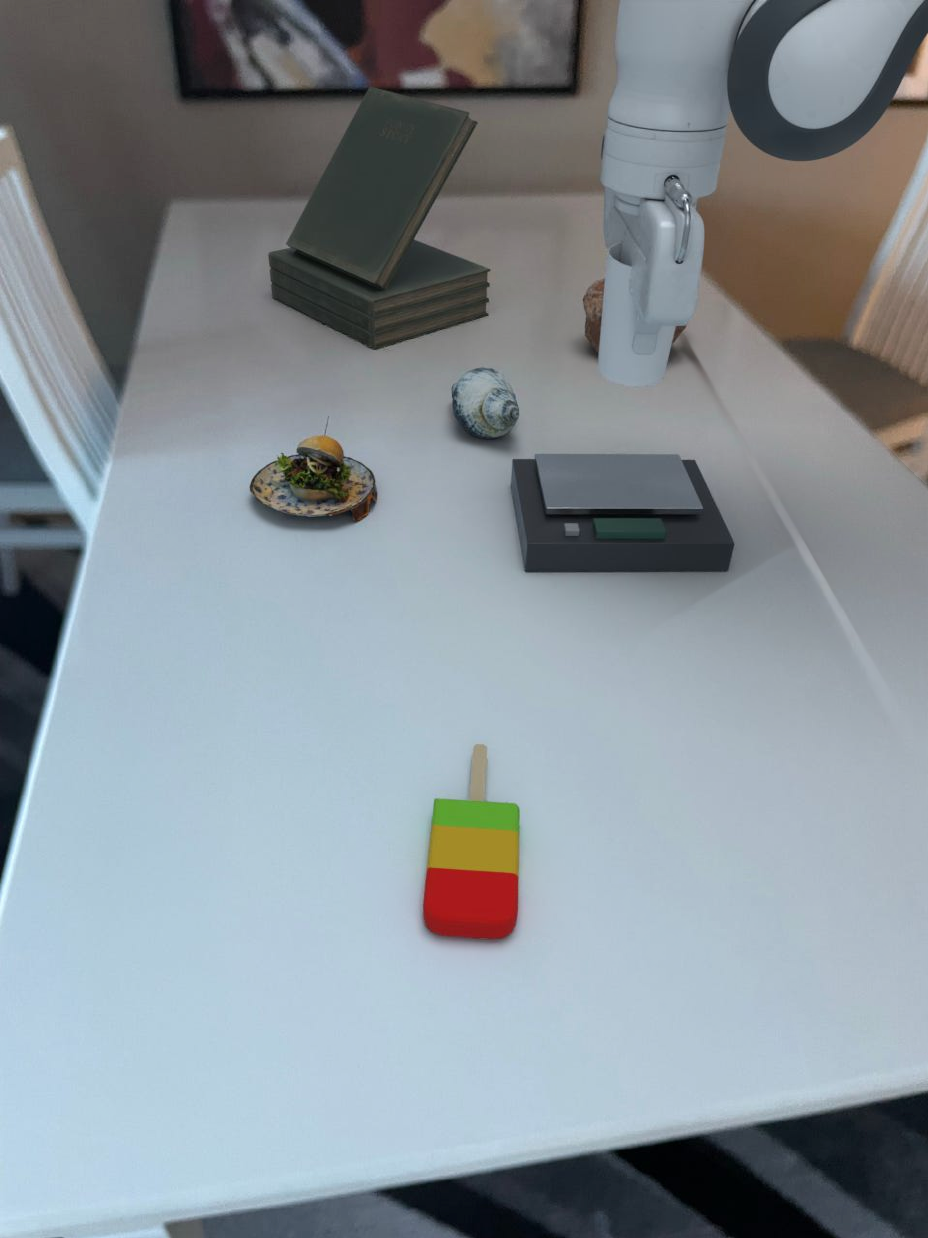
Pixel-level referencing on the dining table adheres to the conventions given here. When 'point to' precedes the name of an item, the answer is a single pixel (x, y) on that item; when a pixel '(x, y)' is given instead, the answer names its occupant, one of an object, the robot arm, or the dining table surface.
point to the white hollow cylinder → (627, 332)
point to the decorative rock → (594, 314)
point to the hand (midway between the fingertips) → (635, 337)
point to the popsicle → (473, 863)
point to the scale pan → (616, 484)
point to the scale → (618, 534)
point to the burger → (316, 481)
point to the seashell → (485, 403)
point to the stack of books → (382, 229)
